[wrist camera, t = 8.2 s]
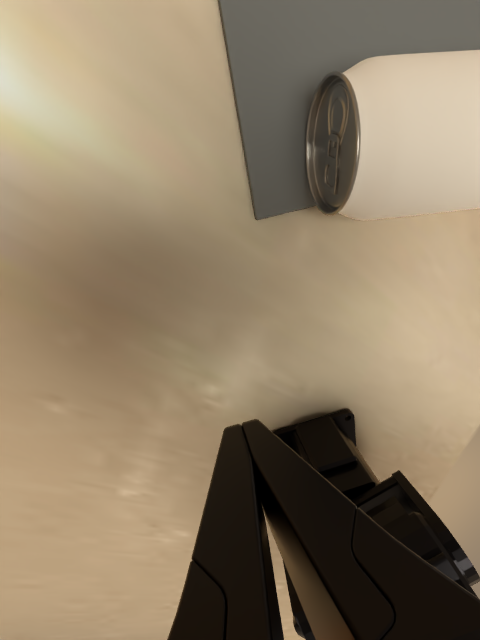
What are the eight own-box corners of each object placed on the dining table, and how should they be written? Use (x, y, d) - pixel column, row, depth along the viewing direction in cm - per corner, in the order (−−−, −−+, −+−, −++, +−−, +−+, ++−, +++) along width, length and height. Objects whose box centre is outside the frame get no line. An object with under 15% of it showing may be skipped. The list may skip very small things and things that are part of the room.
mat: (483, 163, 21) (489, 163, 21) (255, 218, 20) (257, 220, 19) (512, -100, 16) (520, -106, 16) (209, -50, 15) (210, -55, 14)
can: (692, 37, 13) (375, 54, 11) (596, 217, 16) (349, 247, 15) (536, 47, 18) (306, 59, 16) (490, 182, 22) (299, 202, 20)
